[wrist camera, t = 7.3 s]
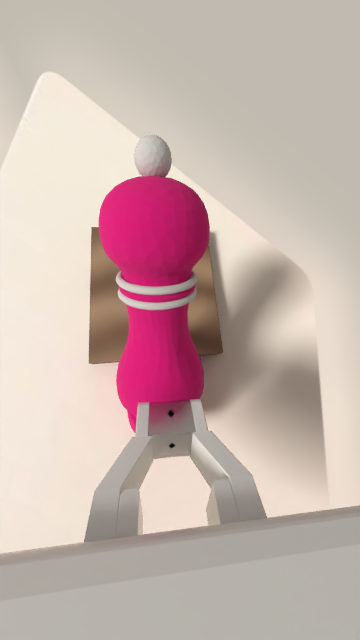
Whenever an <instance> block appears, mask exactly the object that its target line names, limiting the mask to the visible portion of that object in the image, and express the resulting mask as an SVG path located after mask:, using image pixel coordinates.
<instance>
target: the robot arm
mask: <svg viewBox="0 0 360 640" xmlns="http://www.w3.org/2000/svg"><path fill="white" fill-rule="evenodd" d="M175 456H190V458H191V459H192V461H193V462H194V464H195V465H196V467H197V468H198V470H199V471H200V473H201V474H202V476H203V477H204V479H205V480H206V482H207V483H208V485H209V486H210V488H211V489H212V490H211V493H210V497H209V501H208V505H207V508H206V512H207V518H208V524H209V526H203V527H196V528H188V529H181V530H173V531H166V532H158V533H151V534H143V535H142V533H143V515H142V507H141V500H140V492H139V491H138V490H139V488H140V486H141V484H142V482H143V480H144V478H145V476H146V474H147V472H148V470H149V468H150V466H151V464H152V462H153V459H157V458H165V457H175ZM0 640H360V506H352V507H345V508H337V509H330V510H322V511H315V512H308V513H300V514H293V515H285V516H278V517H270V518H267V516H266V513H265V510H264V508H263V505H262V502H261V499H260V496H259V493H258V491H257V488H256V485H255V482H254V479H253V476H252V474H251V473H250V472H249V471H248V470H247V469H246V468H245V467H244V466H243V465H242V464H241V462H240V461H239V460H238V459H237V458H236V457H235V456H234V455H233V454H232V453H231V452H230V451H229V450H228V448H227V447H226V446H225V445H224V444H223V443H222V442H221V441H220V440H219V439H218V438H217V437H216V435H215V434H214V433H213V432H212V431H208V428H207V424H206V419H205V415H204V411H203V407H202V402H201V400H200V399H193V400H189V399H188V400H176V401H168V402H144V403H138V409H137V422H136V434H135V437H132V438H131V440H130V441H129V442H128V444H127V445H126V447H125V448H124V450H123V451H122V453H121V454H120V455H119V457H118V458H117V460H116V461H115V463H114V464H113V466H112V467H111V468H110V470H109V471H108V473H107V474H106V476H105V477H104V479H103V480H102V481H101V483H100V484H99V486H98V487H97V489H96V490H95V492H94V496H93V501H92V506H91V511H90V516H89V520H88V525H87V530H86V535H85V539H84V542H83V543H76V544H69V545H61V546H54V547H46V548H39V549H31V550H24V551H16V552H9V553H1V554H0Z"/></svg>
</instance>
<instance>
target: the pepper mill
mask: <svg viewBox="0 0 360 640" xmlns="http://www.w3.org/2000/svg"><path fill="white" fill-rule="evenodd" d="M134 159H135V164H136V167H137V169H138V171H139V173H140V174H141V175H142V176H143V177H136V178H132V179H128V180H126V181H124V182H122V183H120V184H119V185H117V186H115V187H114V188H113V189H112V190H111V191H110V192H109V193H108V194H107V195H106V197H105V199H104V201H103V203H102V206H101V209H100V215H99V236H100V240H101V244H102V247H103V249H104V251H105V253H106V255H107V256H108V257H109V258H110V259H111V260H112V261H113V262H114V263H115V264H116V265H117V266H118V267H119V269H120V270H121V271H120V272H119V273H118V274H117V276H116V282H117V284H118V285H119V289H118V297H119V298H120V300H121V301H123V302H124V303H125V304H126V305H127V310H128V315H129V334H128V340H127V343H126V347H125V349H124V352H123V354H122V356H121V359H120V362H119V365H118V370H117V379H116V382H117V391H118V396H119V399H120V401H121V403H122V405H123V406H124V407H125V408H126V409H127V411H128V418H129V422H130V425H131V428H132V429H133V431H134V432H135V433H136V422H137V409H138V403H144V402H168V401H176V400H188V399H189V400H193V399H200V397H201V394H202V392H203V387H204V372H203V367H202V363H201V359H200V357H199V354H198V352H197V350H196V348H195V345H194V343H193V341H192V338H191V336H190V332H189V328H188V306H189V302H191V301H192V300H193V299H194V298H195V296H196V293H197V290H196V287H195V284H196V282H197V274H196V273H195V272H194V271H193V270H192V269H193V267H194V266H195V265H196V264H197V262H198V261H199V260H200V259H201V258H202V256H203V255H204V253H205V252H206V249H207V247H208V242H209V229H210V227H209V220H208V214H207V211H206V208H205V206H204V203H203V202H202V200H201V199H200V197H199V196H198V194H197V193H196V192H195V191H194V190H193V189H191V188H190V187H188V186H187V185H185V184H183V183H181V182H179V181H177V180H174V179H172V178H166V175H167V174H168V172H169V170H170V167H171V152H170V150H169V147H168V145H167V144H166V142H165V141H164V140H163V139H162V138H161V137H159V136H156V135H147V136H145V137H143V138H142V139H140V141H139V142H138V143H137V146H136V149H135V153H134Z"/></svg>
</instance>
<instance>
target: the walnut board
mask: <svg viewBox="0 0 360 640" xmlns="http://www.w3.org/2000/svg"><path fill="white" fill-rule="evenodd" d="M192 270H193V271H194V272H195V273H196V274H197V282H196V284H195V287H196V290H197V293H196V296H195V298H194V299H193V300H192V301H191V302H189V306H188V328H189V332H190V336H191V338H192V341H193V343H194V345H195V348H196V350H197V352H198V354H199V355H211V354H220V353H223V349H222V341H221V334H220V327H219V320H218V312H217V305H216V298H215V290H214V283H213V276H212V269H211V261H210V254H209V247H207V249H206V252H205V253H204V255H203V256H202V258H201V259H200V260H199V261H198V262H197V264H196V265H195V266H194V267H193V269H192ZM120 271H121V270H120V269H119V267H118V266H117V265H116V264H115V263H114V262H113V261H112V260H111V259H110V258H109V257H108V256H107V255H106V253H105V251H104V249H103V247H102V244H101V240H100V236H99V227H92V237H91V284H90V330H89V363H90V364H100V363H112V362H120V359H121V356H122V354H123V352H124V349H125V347H126V343H127V340H128V334H129V315H128V310H127V305H126V304H125V303H124V302H123V301H121V300H120V298H119V297H118V289H119V285H118V284H117V282H116V276H117V274H118V273H119V272H120Z"/></svg>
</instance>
